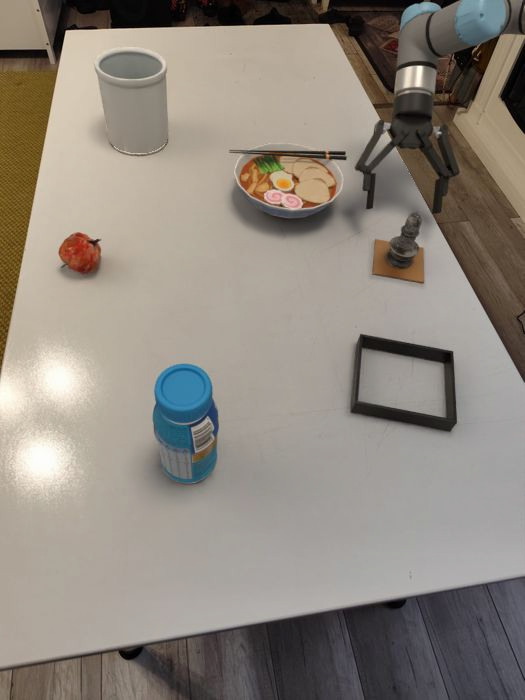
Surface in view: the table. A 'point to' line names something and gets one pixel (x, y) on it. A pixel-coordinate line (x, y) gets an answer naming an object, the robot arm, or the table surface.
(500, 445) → the table surface
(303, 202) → the ramen bowl
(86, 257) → the pomegranate
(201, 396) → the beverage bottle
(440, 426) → the open square frame
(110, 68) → the utensil holder
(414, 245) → the grey chess piece
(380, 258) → the cork mat
